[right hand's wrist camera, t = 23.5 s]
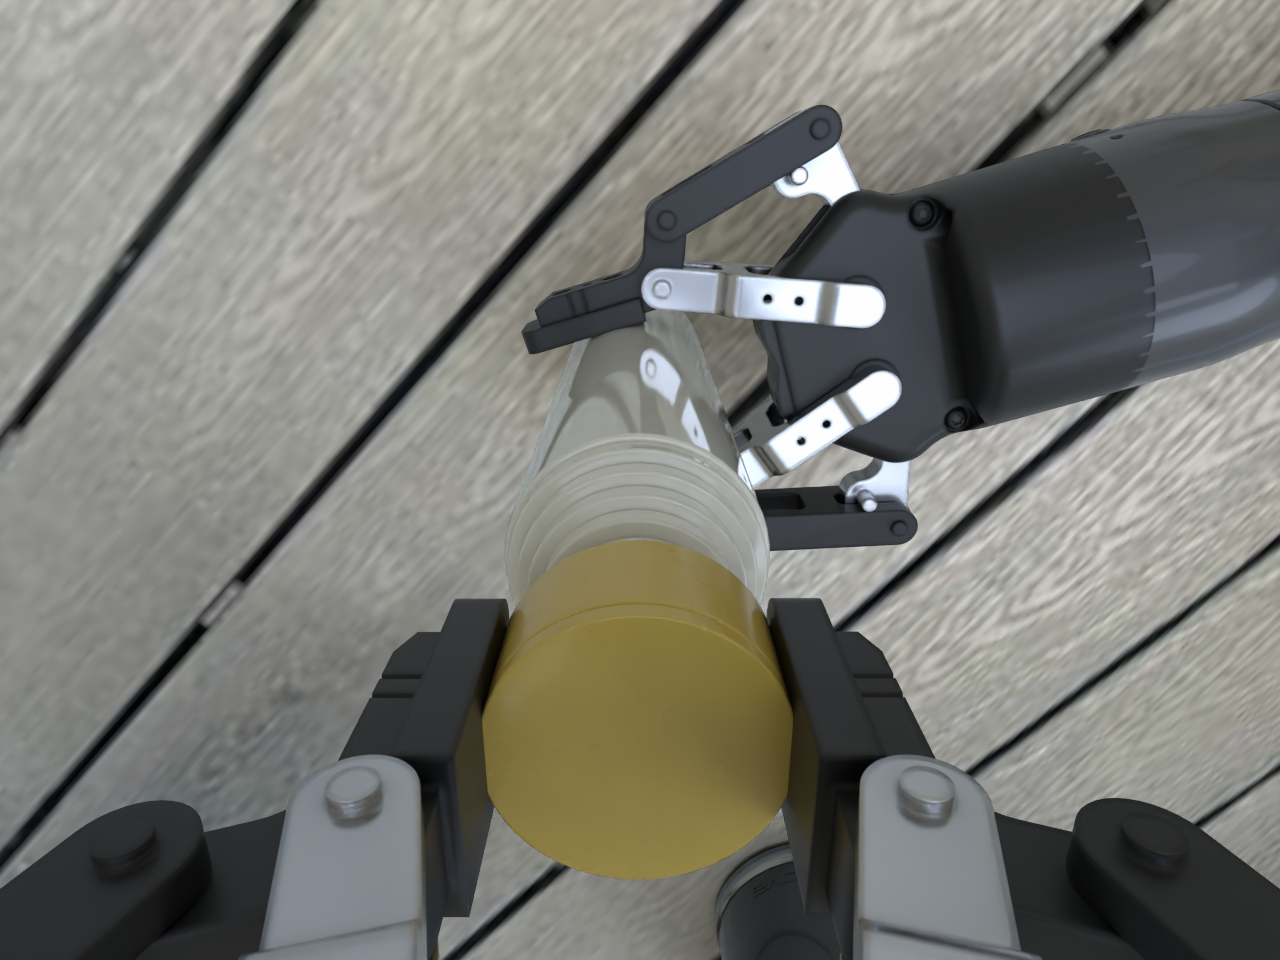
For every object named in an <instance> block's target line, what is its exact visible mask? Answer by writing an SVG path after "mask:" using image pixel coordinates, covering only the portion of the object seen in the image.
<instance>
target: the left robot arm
mask: <svg viewBox="0 0 1280 960" xmlns="http://www.w3.org/2000/svg"><path fill="white" fill-rule="evenodd" d="M841 133H842V121H841V118H840V116H839V114H838V113H837V112H836V111H835V110H834V109H833V108H831V107H829V106H826V105H817V106H814V107H811V108H808V109H805V110H802V111H799V112H797V113H795V114H793V115H791V116H790V117H788V118H786V119H785V120H783V121H781V122H780V123H778V124H776V125H775V126H773V127H771V128H770V129H768V130H766V131H765V132H763V133H761V134H760V135H758V136H756V137H755V138H753V139H752V140H750V141H748V142H747V143H745V144H743V145H742V146H740V147H738V148H737V149H735V150H733V151H732V152H730V153H728V154H727V155H725V156H723V157H722V158H720V159H718V160H717V161H715V162H713V163H712V164H710V165H708V166H707V167H705V168H703V169H702V170H700V171H698V172H697V173H695V174H693V175H692V176H690V177H688V178H687V179H685V180H684V181H682V182H680V183H679V184H677V185H675V186H674V187H672V188H670V189H669V190H667V191H665V192H664V193H662V194H660V195H659V196H657V197H655V198H654V199H652V200H651V201H650V202H649V204H648V205H647V207H646V210H645V222H644V238H643V250H642V254H641V256H640V259H639V260H638V262H637V263H636V264H635V265H634V266H633V267H631V268H630V269H628V270H625V271H622V272H619V273H616V274H612V275H609V276H606V277H602V278H599V279H596V280H592V281H589V282H586V283H583V284H579V285H576V286H572V287H569V288H566V289H562V290H559V291H556V292H553V293H552V294H550V295H549V296H548V297H547V298H546V299H544V300H543V301H542V302H541V303H540V304H539V305H538V306H537V308H536V309H535V312H536V315H537V318H538V319H537V320H534V321H532V322H530V323H528V324H527V325H526V326H525V327H524V329H523V330H522V335H523V338H524V341H525V344H526V347H527V349H528V352H529V354H536V353H540V352H544V351H547V350H551V349H554V348H557V347H561V346H564V345H568V344H571V343H574V342H578V341H581V340H585V339H588V338H591V337H595V336H598V335H602V334H605V333H607V332H610V331H613V330H617V329H622V328H625V327H629V326H632V325H636V324H639V323H642V322H646V313H647V312H650V311H654V310H668V311H682V312H696V313H711V314H719V315H722V316H726V317H732V318H743V319H753V323H754V327H755V331H756V334H757V335H758V337H759V339H760V341H761V342H762V344H763V346H764V348H765V350H766V351H767V354H768V370H767V380H768V384H769V388H770V392H771V396H772V398H771V399H769V400H768V401H766V402H765V403H763V404H762V405H761V406H759V407H758V408H756V409H755V410H753V411H752V412H751V413H750V414H749V415H748V416H747V417H746V418H745V420H744V421H743V423H742V424H741V425H740V426H738V427H737V428H735V429H734V430H733V434H734V437H735V439H736V442H737V445H738V448H739V450H740V453H741V456H742V458H743V461H744V464H745V466H746V469H747V472H748V475H749V477H750V480H751V483H752V485H753V488H755V487H756V486H758V485H759V484H761V483H762V482H764V481H765V480H767V479H768V478H770V477H772V476H775V475H777V476H779V475H783V474H786V473H788V472H789V471H791V470H793V469H794V468H795V467H797V466H798V465H800V464H801V463H803V462H804V461H806V460H807V459H809V458H810V457H812V456H813V455H815V454H816V453H818V452H819V451H821V450H822V449H824V448H825V447H827V446H828V445H830V444H831V443H833V444H836V445H839V446H842V447H845V448H847V449H850V450H853V451H856V452H859V453H862V454H865V455H868V456H871V457H873V460H872V462H871V463H870V464H869V465H868V466H867V467H866V468H864V469H862V470H858V471H853V472H850V473H849V474H847V475H846V476H845V477H844V478H843V479H842V480H841V482H840V485H839V486H823V487H803V488H783V489H763V490H754V491H755V494H756V496H757V499H758V502H759V504H760V507H761V510H762V513H763V516H764V519H765V522H766V526H767V529H768V536H769V543H770V551H778V550H799V549H819V548H839V547H860V546H880V545H899V544H904V543H906V542H908V541H909V540H911V539H912V538H913V537H914V535H915V534H916V531H917V527H918V524H917V520H916V518H915V517H914V515H913V514H912V513H911V512H910V509H909V508H908V492H909V477H910V462H911V460H912V459H915V458H917V457H918V456H920V455H921V454H922V453H924V452H925V451H926V450H927V449H928V448H929V447H930V446H932V445H933V444H934V443H935V442H937V441H939V440H940V439H942V438H944V437H946V436H948V435H950V434H953V433H957V432H962V431H968V430H974V429H979V428H984V427H988V426H992V425H996V424H999V423H1003V422H1007V421H1010V420H1014V419H1018V418H1021V417H1025V416H1029V415H1032V414H1036V413H1039V412H1043V411H1047V410H1050V409H1054V408H1058V407H1061V406H1065V405H1069V404H1072V403H1076V402H1080V401H1084V400H1087V399H1091V398H1095V397H1098V396H1102V395H1106V394H1109V393H1113V392H1117V391H1120V390H1124V389H1127V388H1131V387H1135V386H1138V385H1142V384H1146V383H1149V382H1153V381H1156V380H1160V379H1164V378H1167V377H1171V376H1175V375H1178V374H1182V373H1186V372H1189V371H1193V370H1196V369H1199V368H1203V367H1206V366H1209V365H1212V364H1215V363H1218V362H1220V361H1223V360H1225V359H1228V358H1231V357H1233V356H1235V355H1238V354H1240V353H1242V352H1245V351H1247V350H1249V349H1251V348H1254V347H1257V346H1259V345H1262V344H1264V343H1267V342H1269V341H1273V340H1276V339H1279V338H1280V89H1278V90H1275V91H1271V92H1268V93H1265V94H1261V95H1258V96H1255V97H1251V98H1248V99H1245V100H1241V101H1237V102H1233V103H1229V104H1225V105H1221V106H1217V107H1211V108H1205V109H1199V110H1192V111H1186V112H1179V113H1174V114H1168V115H1163V116H1159V117H1155V118H1151V119H1147V120H1143V121H1139V122H1136V123H1132V124H1129V125H1125V126H1122V127H1119V128H1115V129H1112V130H1111V129H1105V130H1095V131H1092V132H1088V133H1086V134H1083V135H1080V136H1078V137H1076V138H1074V139H1072V140H1071V141H1070V142H1068V143H1066V144H1062V145H1059V146H1055V147H1052V148H1049V149H1045V150H1042V151H1039V152H1035V153H1032V154H1029V155H1025V156H1022V157H1019V158H1016V159H1012V160H1009V161H1006V162H1002V163H999V164H996V165H992V166H989V167H986V168H982V169H979V170H976V171H973V172H969V173H966V174H963V175H959V176H956V177H953V178H949V179H946V180H943V181H939V182H936V183H933V184H929V185H926V186H923V187H920V188H916V189H913V190H910V191H906V192H902V193H897V194H883V193H879V192H876V191H871V190H861V189H859V187H858V185H857V182H856V180H855V178H854V176H853V174H852V171H851V169H850V167H849V165H848V162H847V160H846V158H845V156H844V154H843V151H842V149H841V147H840V145H839V143H838V141H839V139H840V136H841ZM769 185H771V187H772V189H773V190H774V191H775V192H776V193H777V194H779V195H781V196H784V197H789V198H798V197H801V196H803V195H806V194H815V195H817V196H818V197H819V198H820V199H821V200H822V201H823V203H824V205H823V207H822V208H821V209H820V210H819V212H818V213H817V214H816V215H815V217H814V218H813V219H812V220H811V222H810V223H809V224H808V225H807V227H806V228H805V229H804V230H803V231H802V233H801V234H800V235H799V236H798V238H797V239H796V240H795V241H794V243H793V244H792V245H791V246H790V248H789V249H788V250H787V251H786V253H785V254H784V255H783V256H782V258H781V259H780V260H779V261H778V262H777V264H776V265H775V266H771V265H757V264H743V263H729V262H718V263H707V262H693V261H684V255H685V242H686V234H688V233H689V232H691V231H693V230H694V229H696V228H698V227H699V226H701V225H703V224H705V223H706V222H708V221H710V220H711V219H713V218H715V217H716V216H718V215H720V214H722V213H723V212H725V211H727V210H728V209H730V208H732V207H733V206H735V205H737V204H738V203H740V202H742V201H744V200H745V199H747V198H749V197H750V196H752V195H754V194H755V193H757V192H759V191H761V190H762V189H764V188H766V187H767V186H769ZM800 437H802V439H800V440H798V439H799V438H800ZM715 923H716V933H717V940H718V945H719V948H720V951H721V959H722V960H840V953H841V950H840V947H839V944H838V941H837V937H836V933H835V929H834V925H833V921H832V917H831V916H805V912H804V907H803V903H802V898H801V893H800V889H799V884H798V880H797V875H796V871H795V866H794V862H793V857H792V853H791V848H790V844H788V845H784V846H780V847H776V848H774V849H771V850H768V851H766V852H763V853H761V854H759V855H757V856H756V857H754V858H752V859H751V860H749V861H747V862H746V863H745V864H743V865H742V866H741V867H740V868H738V869H737V870H736V871H735V872H734V873H733V874H732V876H731V877H730V878H729V879H728V880H727V882H726V883H725V885H724V886H723V888H722V890H721V892H720V894H719V897H718V899H717V903H716V909H715Z"/></svg>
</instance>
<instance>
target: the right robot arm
mask: <svg viewBox="0 0 1280 960" xmlns="http://www.w3.org/2000/svg"><path fill="white" fill-rule="evenodd" d="M767 622H768V625H769V628H770V632H771V635H772V639H773V642H774V646H775V649H776V653H777V656H778V660H779V664H780V667H781V671H782V674H783V678H784V681H785V685H786V688H787V692H788V696H789V699H790V702H791V706H792V710H793V729H792V742H791V755H790V767H789V780H788V793H787V797H786V799H785V801H784V803H783V805H782V812H783V816H784V821H785V825H786V830H787V834H788V839H789V843H790V848H791V853H792V857H793V862H794V866H795V871H796V875H797V880H798V884H799V889H800V893H801V898H802V903H803V907H804V912H805V916H831V917H832V921H833V925H834V929H835V933H836V937H837V941H838V944H839V947H840V950H841V953H840V960H1280V889H1279V888H1278V887H1276V886H1275V885H1274V884H1272V883H1271V882H1270V881H1269V880H1267V879H1266V878H1265V877H1263V876H1262V875H1261V874H1259V873H1258V872H1257V871H1255V870H1254V869H1253V868H1251V867H1250V866H1249V865H1247V864H1246V863H1245V862H1243V861H1242V860H1241V859H1239V858H1238V857H1237V856H1236V855H1234V854H1233V853H1232V852H1230V851H1229V850H1228V849H1226V848H1225V847H1224V846H1222V845H1221V844H1220V843H1218V842H1217V841H1216V840H1214V839H1213V838H1212V837H1210V836H1209V835H1208V834H1206V833H1205V832H1204V831H1203V830H1201V829H1200V828H1198V827H1197V826H1195V825H1194V824H1192V823H1191V822H1189V821H1188V820H1186V819H1184V818H1182V817H1181V816H1179V815H1177V814H1175V813H1172V812H1170V811H1168V810H1166V809H1163V808H1161V807H1158V806H1155V805H1152V804H1149V803H1145V802H1141V801H1137V800H1131V799H1123V798H1106V799H1100V800H1095V801H1093V802H1091V803H1088V804H1086V805H1085V806H1084V807H1082V808H1081V809H1080V811H1079V812H1078V814H1077V816H1076V819H1075V823H1074V827H1073V832H1070V831H1066V830H1061V829H1057V828H1053V827H1048V826H1044V825H1040V824H1035V823H1031V822H1027V821H1022V820H1018V819H1015V818H1011V817H1008V816H1004V815H1002V814H999V813H996V812H994V809H993V806H992V803H991V800H990V798H989V796H988V795H987V793H986V791H985V790H984V789H983V788H982V786H981V785H980V784H979V783H978V782H977V781H975V780H974V779H973V778H972V777H971V776H969V775H968V774H966V773H965V772H964V771H962V770H960V769H958V768H957V767H955V766H953V765H950V764H948V763H946V762H943V761H940V760H937V759H935V757H934V755H933V753H932V751H931V749H930V747H929V745H928V743H927V741H926V739H925V736H924V734H923V732H922V730H921V728H920V726H919V724H918V722H917V720H916V718H915V716H914V714H913V712H912V710H911V708H910V706H909V704H908V702H907V700H906V698H905V697H903V692H902V690H901V688H900V686H899V684H898V682H897V680H896V678H893V672H892V670H891V668H890V666H889V664H888V662H887V660H886V658H885V656H884V654H883V652H882V651H881V650H880V649H879V648H877V647H876V646H875V645H874V644H872V643H871V642H870V641H869V640H867V639H866V638H865V637H864V636H863V635H861V634H860V633H859V632H835V631H834V628H833V626H832V624H831V621H830V619H829V617H828V614H827V612H826V609H825V607H824V605H823V602H822V600H821V599H819V598H771V599H770V600H769V603H768V609H767ZM508 623H509V610H508V604H507V601H506V599H455V600H454V602H453V604H452V606H451V609H450V611H449V613H448V616H447V618H446V621H445V623H444V625H443V628H442V630H441V632H417V633H416V634H415V635H414V636H412V637H411V638H410V639H409V640H407V641H406V642H405V643H404V644H402V645H401V646H400V647H399V648H398V649H396V650H395V651H394V652H393V654H392V656H391V658H390V660H389V662H388V663H387V665H386V667H385V669H384V671H383V673H382V679H379V681H378V683H377V685H376V687H375V689H374V691H373V693H372V698H370V699H369V701H368V703H367V705H366V707H365V709H364V711H363V713H362V715H361V717H360V719H359V721H358V723H357V724H356V726H355V728H354V730H353V732H352V734H351V736H350V738H349V740H348V742H347V744H346V746H345V748H344V750H343V752H342V754H341V756H340V758H339V760H338V761H337V762H334V763H332V764H330V765H327V766H325V767H323V768H322V769H320V770H318V771H316V772H315V773H314V774H312V775H311V776H309V777H308V778H307V779H306V780H305V781H303V782H302V783H301V784H300V785H299V786H298V788H297V789H296V790H295V791H294V793H293V795H292V796H291V798H290V800H289V803H288V806H287V809H286V810H284V811H282V812H280V813H277V814H275V815H272V816H269V817H266V818H263V819H259V820H255V821H251V822H247V823H243V824H238V825H234V826H230V827H226V828H221V829H217V830H213V831H208V832H204V830H203V825H202V822H201V818H200V816H199V815H198V813H197V812H196V811H195V810H194V809H193V808H191V807H190V806H188V805H186V804H183V803H180V802H175V801H164V800H160V801H148V802H142V803H137V804H133V805H130V806H126V807H123V808H120V809H117V810H115V811H112V812H110V813H108V814H105V815H103V816H101V817H99V818H97V819H95V820H94V821H92V822H90V823H88V824H86V825H85V826H84V827H82V828H81V829H79V830H78V831H76V832H75V833H74V834H72V835H71V836H70V837H68V838H67V839H66V840H64V841H63V842H62V843H60V844H59V845H58V846H56V847H55V848H54V849H52V850H51V851H50V852H48V853H47V854H46V855H44V856H43V857H42V858H40V859H39V860H38V861H37V862H35V863H34V864H33V865H31V866H30V867H29V868H27V869H26V870H25V871H23V872H22V873H21V874H19V875H18V876H17V877H15V878H14V879H13V880H11V881H10V882H9V883H7V884H6V885H5V886H4V887H2V888H1V889H0V960H440V953H439V945H438V934H439V931H440V927H441V923H442V919H443V917H469V915H470V911H471V907H472V902H473V898H474V893H475V889H476V885H477V880H478V876H479V871H480V867H481V863H482V858H483V854H484V849H485V845H486V840H487V836H488V832H489V827H490V823H491V818H492V814H493V810H494V805H493V803H492V801H491V799H490V797H489V795H488V789H487V776H486V764H485V751H484V739H483V726H482V713H483V709H484V706H485V702H486V699H487V695H488V692H489V688H490V685H491V681H492V678H493V675H494V671H495V668H496V664H497V661H498V657H499V654H500V650H501V647H502V643H503V640H504V637H505V633H506V630H507V626H508Z"/></svg>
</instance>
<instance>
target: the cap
mask: <svg viewBox="0 0 1280 960" xmlns="http://www.w3.org/2000/svg"><path fill="white" fill-rule="evenodd" d="M482 726H483V739H484V751H485V764H486V776H487V789H488V795H489V797H490V799H491V801H492V803H493V805H494V807H495V808H496V810H497V811H498V812H499V814H500V815H501V817H502V818H503V820H504V821H505V822H506V823H507V824H508V825H509V826H510V827H511V829H512V830H513V831H514V832H515V833H516V834H517V835H518V836H520V837H521V838H522V839H523V840H524V841H525V842H527V843H528V844H529V845H530V846H532V847H533V848H535V849H536V850H538V851H539V852H541V853H542V854H544V855H546V856H548V857H549V858H551V859H553V860H555V861H557V862H559V863H561V864H564V865H566V866H569V867H571V868H574V869H577V870H579V871H583V872H587V873H591V874H594V875H598V876H604V877H611V878H617V879H634V880H640V879H658V878H665V877H672V876H678V875H682V874H686V873H689V872H693V871H697V870H699V869H702V868H705V867H707V866H710V865H713V864H715V863H717V862H719V861H721V860H723V859H725V858H727V857H729V856H731V855H732V854H734V853H735V852H737V851H738V850H740V849H741V848H743V847H744V846H746V845H747V844H748V843H749V842H751V841H752V840H753V839H754V838H755V837H757V836H758V835H759V834H760V833H761V832H762V831H763V830H764V829H765V828H766V826H767V825H768V824H769V823H770V822H771V821H772V820H773V818H774V817H775V815H776V814H777V813H778V811H779V810H780V808H781V807H782V805H783V803H784V801H785V799H786V797H787V793H788V780H789V767H790V755H791V742H792V729H793V710H792V706H791V702H790V699H789V696H788V692H787V688H786V685H785V681H784V678H783V674H782V671H781V667H780V664H779V660H778V656H777V653H776V649H775V646H774V642H773V639H772V635H771V632H770V628H769V625H768V622H767V619H766V617H765V615H764V613H763V611H762V609H761V607H760V605H759V603H758V602H757V600H756V599H755V597H754V596H753V594H752V593H751V591H750V590H749V589H748V588H747V587H746V586H745V585H744V584H743V583H742V582H741V581H740V579H739V578H737V577H736V576H735V575H734V574H732V573H731V572H730V571H729V570H728V569H726V568H725V567H724V566H722V565H720V564H719V563H717V562H716V561H714V560H712V559H711V558H709V557H707V556H706V555H702V554H701V553H698V552H696V551H693V550H690V549H687V548H684V547H681V546H678V545H674V544H669V543H663V542H658V541H651V540H647V541H646V540H634V541H619V542H613V543H608V544H602V545H599V546H595V547H590V548H589V549H588V548H587V549H585V550H583V551H581V552H579V553H576V554H574V555H572V556H570V557H568V558H566V559H564V560H563V561H561V562H559V563H558V564H556V565H554V566H553V567H551V568H550V569H549V570H548V571H546V572H545V573H544V574H543V575H541V576H540V577H539V578H538V579H537V580H536V581H535V582H534V583H533V584H532V585H531V586H530V587H529V589H528V590H527V591H526V592H525V594H524V595H523V597H522V598H521V599H520V601H519V602H518V604H517V606H516V608H515V610H514V612H513V614H512V615H511V617H510V620H509V623H508V626H507V630H506V633H505V637H504V640H503V643H502V647H501V650H500V654H499V657H498V661H497V664H496V668H495V671H494V675H493V678H492V681H491V685H490V688H489V692H488V695H487V699H486V702H485V706H484V709H483V713H482Z"/></svg>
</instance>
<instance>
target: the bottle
mask: <svg viewBox="0 0 1280 960" xmlns="http://www.w3.org/2000/svg"><path fill="white" fill-rule="evenodd" d="M634 540H646V541H647V540H651V541H658V542H663V543H669V544H674V545H678V546H681V547H684V548H687V549H690V550H693V551H696V552H698V553H701V554H702V555H706V556H707V557H709V558H711V559H712V560H714V561H716V562H717V563H719V564H720V565H722V566H724V567H725V568H726V569H728V570H729V571H730V572H731V573H732V574H734V575H735V576H736V577H737V578H739V579H740V581H741V582H742V583H743V584H744V585H745V586H746V587H747V588H748V589H749V590H750V591H751V593H752V594H753V596H754V597H755V599H756V600H757V602H758V603H759V605H760V604H761V601H762V597H763V594H764V591H765V587H766V580H767V575H768V569H769V562H770V543H769V536H768V529H767V526H766V522H765V519H764V516H763V513H762V510H761V507H760V504H759V502H758V499H757V496H756V494H755V491H754V488H753V485H752V483H751V480H750V477H749V475H748V472H747V469H746V466H745V464H744V461H743V458H742V456H741V453H740V450H739V448H738V445H737V442H736V439H735V437H734V434H733V431H732V429H731V426H730V423H729V420H728V418H727V415H726V412H725V410H724V407H723V404H722V401H721V399H720V396H719V393H718V391H717V388H716V385H715V383H714V380H713V377H712V374H711V372H710V369H709V366H708V364H707V361H706V358H705V355H704V353H703V350H702V347H701V345H700V342H699V339H698V336H697V334H696V331H695V329H694V327H693V325H692V323H691V321H690V320H689V318H688V317H687V315H686V314H685V313H684V312H682V311H668V310H654V311H650V312H647V313H646V322H642V323H639V324H636V325H632V326H629V327H625V328H622V329H617V330H613V331H610V332H607V333H605V334H602V335H598V336H595V337H591V338H588V339H585V340H581V341H578V342H574V343H573V346H572V349H571V352H570V354H569V357H568V360H567V363H566V365H565V368H564V371H563V374H562V377H561V379H560V382H559V385H558V388H557V390H556V393H555V396H554V399H553V401H552V404H551V407H550V410H549V413H548V415H547V418H546V421H545V424H544V426H543V429H542V432H541V435H540V437H539V440H538V443H537V446H536V449H535V451H534V454H533V457H532V460H531V462H530V465H529V468H528V471H527V473H526V476H525V479H524V482H523V485H522V487H521V490H520V493H519V496H518V498H517V501H516V504H515V507H514V509H513V512H512V515H511V518H510V522H509V525H508V529H507V535H506V541H505V563H506V571H507V576H508V582H509V588H510V591H511V595H512V599H513V602H514V604H515V606H517V604H518V602H519V601H520V599H521V598H522V597H523V595H524V594H525V592H526V591H527V590H528V589H529V587H530V586H531V585H532V584H533V583H534V582H535V581H536V580H537V579H538V578H539V577H540V576H541V575H543V574H544V573H545V572H546V571H548V570H549V569H550V568H551V567H553V566H554V565H556V564H558V563H559V562H561V561H563V560H564V559H566V558H568V557H570V556H572V555H574V554H576V553H579V552H581V551H583V550H585V549H587V548H588V549H589V548H590V547H595V546H599V545H602V544H608V543H613V542H619V541H634Z"/></svg>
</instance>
